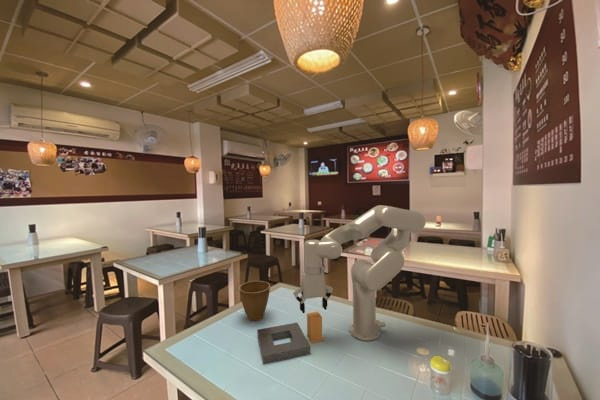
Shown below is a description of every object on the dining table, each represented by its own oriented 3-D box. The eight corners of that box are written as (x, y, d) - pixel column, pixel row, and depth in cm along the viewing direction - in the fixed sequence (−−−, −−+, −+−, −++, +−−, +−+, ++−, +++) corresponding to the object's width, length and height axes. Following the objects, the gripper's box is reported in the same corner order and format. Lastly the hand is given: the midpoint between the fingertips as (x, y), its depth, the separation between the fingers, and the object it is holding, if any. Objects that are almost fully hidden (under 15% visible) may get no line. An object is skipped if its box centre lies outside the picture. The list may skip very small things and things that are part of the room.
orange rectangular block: (318, 333, 108) (317, 311, 107) (322, 340, 103) (322, 317, 103) (307, 336, 106) (306, 313, 106) (311, 342, 102) (310, 319, 101)
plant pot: (234, 324, 117) (233, 290, 116) (248, 309, 131) (247, 279, 131) (264, 327, 114) (263, 293, 113) (274, 312, 128) (274, 281, 127)
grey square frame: (297, 328, 112) (297, 322, 112) (310, 353, 95) (310, 346, 95) (257, 336, 107) (257, 329, 107) (263, 364, 90) (263, 356, 89)
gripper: (329, 265, 110) (329, 303, 110) (291, 269, 105) (291, 308, 105) (336, 270, 102) (336, 311, 103) (295, 274, 98) (296, 317, 98)
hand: (313, 309), depth 104 cm, fingers open, 9 cm apart
